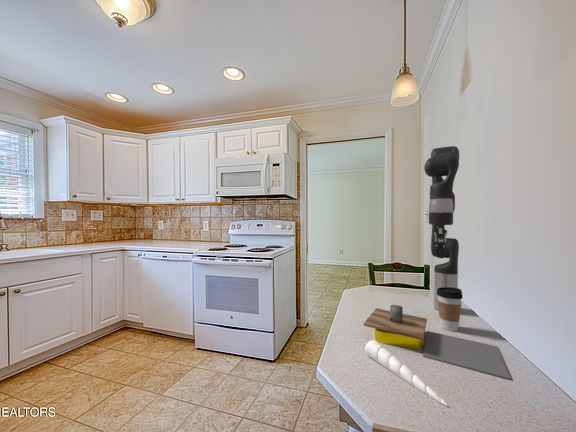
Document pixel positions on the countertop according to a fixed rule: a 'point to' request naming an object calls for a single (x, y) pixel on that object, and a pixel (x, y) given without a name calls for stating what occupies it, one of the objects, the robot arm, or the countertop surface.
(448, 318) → the coffee cup
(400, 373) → the unicorn horn
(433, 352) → the rubber mat
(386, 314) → the walnut lid
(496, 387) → the countertop surface
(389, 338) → the element tile
